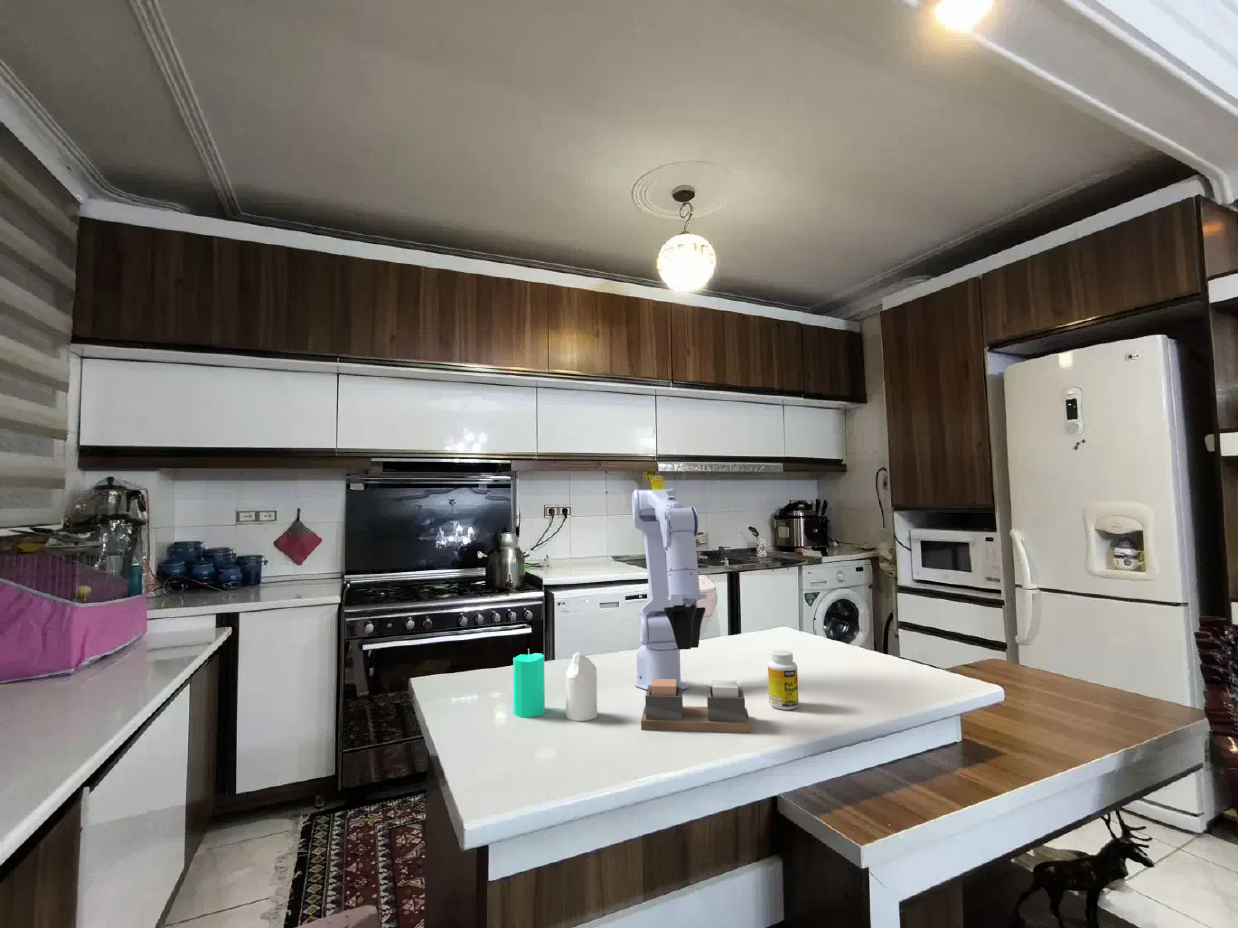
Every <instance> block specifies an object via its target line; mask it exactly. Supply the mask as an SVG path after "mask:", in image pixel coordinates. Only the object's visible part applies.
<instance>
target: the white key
mask: <svg viewBox="0 0 1238 928" xmlns="http://www.w3.org/2000/svg"><path fill="white" fill-rule="evenodd" d="M711 682H712V683H711V684H712V685H711V687H712V690H713V697H738V687H739V686H738V682H737V679H736V680H735V679H734V680H731V679H712V680H711Z"/></svg>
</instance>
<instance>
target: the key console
mask: <svg viewBox="0 0 1238 928" xmlns="http://www.w3.org/2000/svg"><path fill="white" fill-rule="evenodd" d="M644 697H645V705H644V708H643V712H642V716H641V719H640V729H641V730H643V731H673V732H675V731H676V732H699V733H701V732H702V733H703V732H707V733H737V734H738V733H739V734H742V733H743V734H751V733H752V727H751V726H752V724H751V720H750V717H749V712H748V709H747V707H746V700H745V695H744V691H743V687H742V686H738V697H713V690H712V685H711V686H710V685H709V686H706V699H707V702H706V703H707V704H706V705H707V706H687V705H686V706H684V705H683V699H684V698H683V690H682V686H677V696H658V695H651V685H648V688H647V690H646V692H645V695H644Z"/></svg>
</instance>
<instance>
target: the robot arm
mask: <svg viewBox="0 0 1238 928" xmlns="http://www.w3.org/2000/svg"><path fill="white" fill-rule="evenodd" d="M631 495H632V496H631V510H632V522H633V524H634V528H635V529H637V530H639V531H640V532H641V534H642V538H643V541H644V552H645V553H644V554H645V562H646V564H645V565H646V572H647V582H648V592H649V601H648V602H647V603H646V604H644V605H643V606H642V607H641V609H640V610H639V612H638V634H639V640H640V643H641V645H640V647H639V648H638V650H637V653H636V682H635V683H634V685H633V686H634V687H636V688H640V689H643V690H645V691H647V688H648V685H652V681H653V679H676V682H677V686H682V691H683V690H687V689H690V685H689V684H686V683H683V682H682V681H681V679H682V678H681V651H682V650H691V649H694V648H697V649H698V648H699V646H700V645H699V644H700V636H701V627H702V623H703V618H704V615H705V612H706V607H705V606H704V607H703V606H702V607H698V601H701V600H703V599H704V600H706V599H708V595H707V594H704V593H703V594H701V589H700V588H701V587H700V577H699V567H698V566H699V565H698V564H699V563H698V554H697V553H698V552H697V541H696V540H697V539H696V537H697V536H698V532H699V516H698V512H697V509H696V508H695V507H694V506H690V507H685V506H684V505H683V504H682V503H681V502H680V501H679V500H678V498H677V494H676V491H675V490H674V489H673V488H667V489H634V491H633V492H632V494H631Z"/></svg>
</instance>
